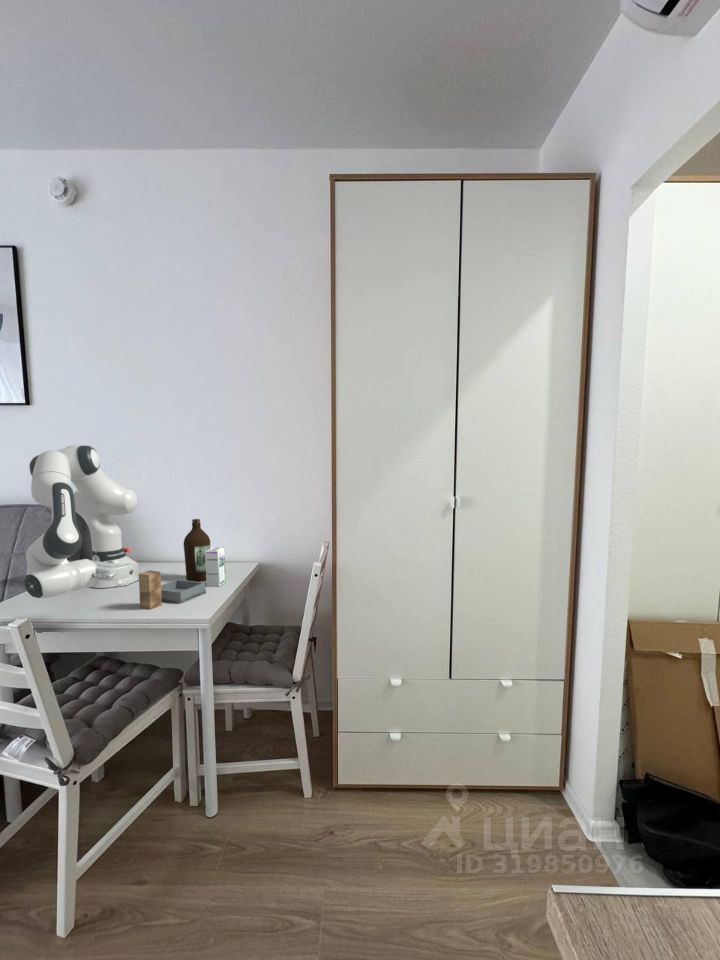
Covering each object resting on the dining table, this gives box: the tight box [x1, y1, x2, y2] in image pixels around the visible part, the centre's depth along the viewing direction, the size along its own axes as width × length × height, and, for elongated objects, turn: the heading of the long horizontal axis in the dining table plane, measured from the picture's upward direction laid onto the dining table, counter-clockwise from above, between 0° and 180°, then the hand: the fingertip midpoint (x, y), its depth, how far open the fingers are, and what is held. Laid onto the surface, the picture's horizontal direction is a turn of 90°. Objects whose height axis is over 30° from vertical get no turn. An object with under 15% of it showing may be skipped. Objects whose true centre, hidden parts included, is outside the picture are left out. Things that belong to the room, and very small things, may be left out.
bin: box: [161, 579, 207, 604], centre depth 204 cm, size 14×14×4 cm
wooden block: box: [138, 570, 163, 610], centre depth 193 cm, size 5×5×12 cm
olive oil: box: [182, 518, 211, 582], centre depth 227 cm, size 11×11×25 cm
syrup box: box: [205, 546, 227, 588], centre depth 219 cm, size 6×6×14 cm
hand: (121, 564), depth 182 cm, fingers open, 8 cm apart
